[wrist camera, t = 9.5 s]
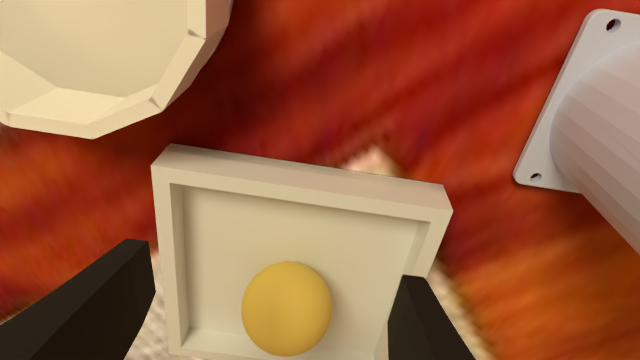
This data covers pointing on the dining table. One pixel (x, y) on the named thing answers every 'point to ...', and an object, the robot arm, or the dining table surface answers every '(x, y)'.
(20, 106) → the bowl
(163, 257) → the tray
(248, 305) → the ball
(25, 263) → the dining table surface
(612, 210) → the robot arm
